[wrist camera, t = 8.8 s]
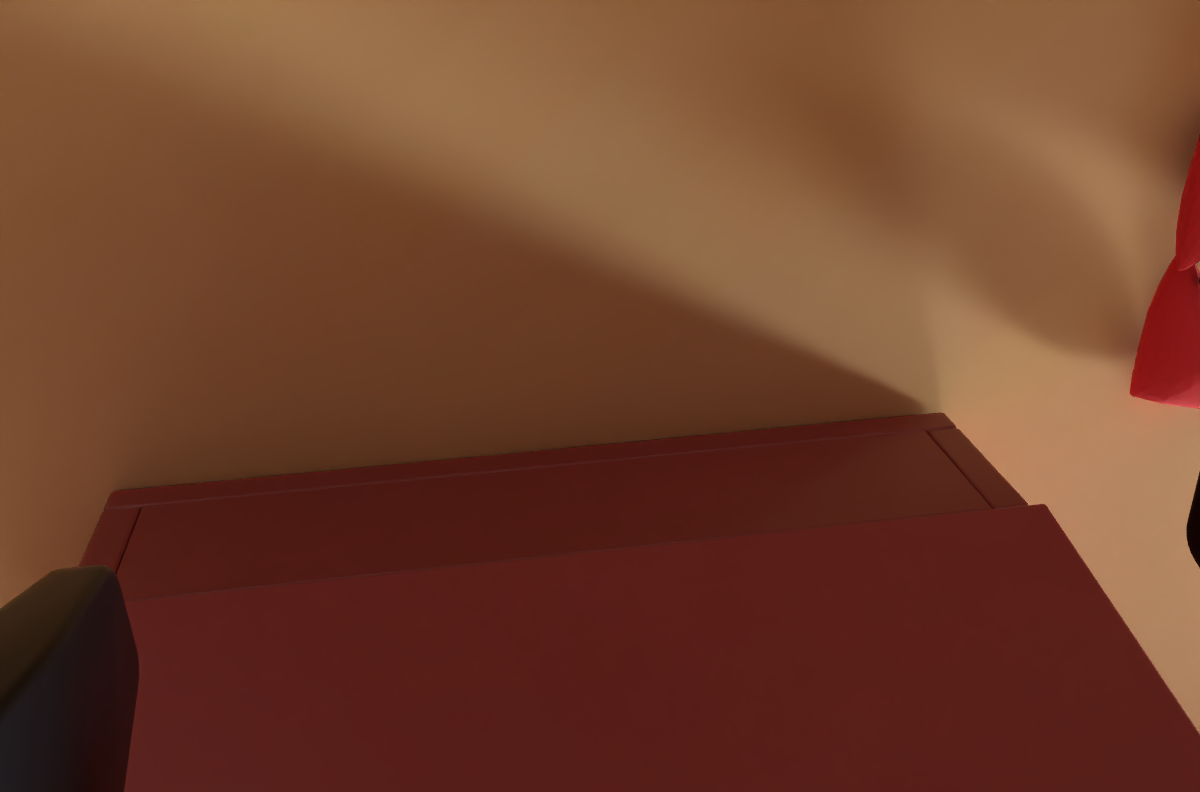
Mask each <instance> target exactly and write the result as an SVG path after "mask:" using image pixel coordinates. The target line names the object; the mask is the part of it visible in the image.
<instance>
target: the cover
mask: <svg viewBox="0 0 1200 792" xmlns="http://www.w3.org/2000/svg"><path fill="white" fill-rule="evenodd" d="M125 606H126V609H127V613H128V617H129V621H130V625H131V628H132V632H133V636H134V640H135V644H136V647H137V652H138V659H139V684H138V692H137V699H136V707H135V714H134V722H133V729H132V737H131V744H130V752H129V759H128V767H127V774H126V781H125V789H124V792H1200V734H1199V732H1198V731H1197V729H1196V728H1195V726H1194V725H1193V723H1192V722H1191V720H1190V719H1189V717H1188V716H1187V714H1186V713H1185V711H1184V710H1183V708H1182V707H1181V705H1180V704H1179V702H1178V701H1177V699H1176V698H1175V696H1174V695H1173V694H1172V692H1171V691H1170V689H1169V688H1168V686H1167V685H1166V683H1165V682H1164V680H1163V679H1162V677H1161V676H1160V674H1159V673H1158V671H1157V670H1156V668H1155V667H1154V665H1153V664H1152V662H1151V661H1150V659H1149V658H1148V656H1147V655H1146V653H1145V652H1144V650H1143V649H1142V647H1141V646H1140V644H1139V643H1138V641H1137V640H1136V638H1135V637H1134V635H1133V634H1132V632H1131V631H1130V629H1129V628H1128V626H1127V625H1126V623H1125V622H1124V621H1123V619H1122V618H1121V616H1120V615H1119V613H1118V612H1117V610H1116V609H1115V607H1114V606H1113V604H1112V603H1111V601H1110V600H1109V598H1108V597H1107V595H1106V594H1105V592H1104V591H1103V589H1102V588H1101V586H1100V585H1099V583H1098V582H1097V580H1096V579H1095V577H1094V576H1093V574H1092V573H1091V571H1090V570H1089V568H1088V567H1087V565H1086V564H1085V562H1084V561H1083V559H1082V558H1081V556H1080V555H1079V553H1078V552H1077V550H1076V549H1075V548H1074V546H1073V545H1072V543H1071V542H1070V540H1069V539H1068V537H1067V536H1066V534H1065V533H1064V531H1063V530H1062V528H1061V527H1060V525H1059V524H1058V522H1057V521H1056V519H1055V518H1054V516H1053V515H1052V513H1051V512H1050V510H1049V509H1048V507H1047V506H1046V505H1045V504H1038V505H1028V506H1019V507H1010V508H1000V509H991V510H981V511H972V512H963V513H953V514H944V515H935V516H925V517H916V518H906V519H897V520H888V521H878V522H869V523H860V524H850V525H841V526H831V527H822V528H813V529H803V530H794V531H785V532H775V533H766V534H756V535H747V536H738V537H728V538H719V539H710V540H700V541H691V542H681V543H672V544H663V545H653V546H644V547H635V548H625V549H616V550H606V551H597V552H588V553H578V554H569V555H560V556H550V557H541V558H531V559H522V560H513V561H503V562H494V563H485V564H475V565H466V566H456V567H447V568H438V569H428V570H419V571H410V572H400V573H391V574H381V575H372V576H363V577H353V578H344V579H335V580H325V581H316V582H306V583H297V584H288V585H278V586H269V587H260V588H250V589H241V590H231V591H222V592H213V593H203V594H194V595H185V596H175V597H166V598H156V599H147V600H138V601H128V602H125Z"/></svg>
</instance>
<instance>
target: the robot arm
mask: <svg viewBox="0 0 1200 792" xmlns="http://www.w3.org/2000/svg"><path fill="white" fill-rule="evenodd" d="M1187 541H1188V546H1189V549H1190V551H1191V554H1192V556H1193V558H1194V559H1195V561H1196V563H1197V564H1198V566H1199V567H1200V472H1199V476H1198V480H1197V484H1196V489H1195V493H1194V497H1193V501H1192V505H1191V509H1190V514H1189V518H1188V522H1187ZM138 684H139V659H138V652H137V647H136V644H135V640H134V636H133V632H132V628H131V625H130V621H129V617H128V613H127V609H126V606H125V602H124V598H123V594H122V590H121V587H120V583H119V580H118V578H117V576H116V574H115V572H114V571H113V570H112V569H111V568H110V567H108V566H106V565H93V566H83V567H74V568H65V569H58V570H55V571H52V572H50V573H49V574H47V575H46V576H44V577H43V578H42V579H40V580H39V581H38V582H36V583H35V584H34V585H32V586H31V587H29V588H28V589H27V590H25V591H24V592H23V593H21V594H20V595H19V596H17V597H16V598H14V599H13V600H12V601H10V602H9V603H8V604H6V605H5V606H4V607H2V608H1V609H0V792H124V789H125V781H126V774H127V767H128V759H129V752H130V744H131V737H132V729H133V722H134V714H135V707H136V699H137V692H138Z"/></svg>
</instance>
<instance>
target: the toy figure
mask: <svg viewBox="0 0 1200 792" xmlns="http://www.w3.org/2000/svg"><path fill="white" fill-rule="evenodd" d="M1199 261H1200V135H1199V138H1198V142H1197V145H1196V148H1195V152H1194V155H1193V158H1192V162H1191V165H1190V169H1189V172H1188V176H1187V180H1186V183H1185V187H1184V190H1183V194H1182V198H1181V204H1180V210H1179V217H1178V223H1177V232H1176V256H1175V257H1174V259H1173V260H1172V262H1171V263H1170V265H1169V267H1168V269H1167V271H1166V273H1165V274H1164V276H1163V278H1162V280H1161V282H1160V284H1159V286H1158V288H1157V290H1156V293H1155V295H1154V297H1153V300H1152V302H1151V305H1150V307H1149V309H1148V312H1147V316H1146V320H1145V324H1144V327H1143V331H1142V335H1141V339H1140V343H1139V347H1138V351H1137V355H1136V359H1135V367H1134V370H1133V374H1132V380H1131V387H1130V394H1131V395H1132V396H1133V397H1138V398H1142V399H1146V400H1150V401H1154V402H1158V403H1162V404H1168V405H1175V406H1183V407H1191V408H1199V409H1200V273H1199V270H1198V268H1197V266H1196V263H1197V262H1199Z"/></svg>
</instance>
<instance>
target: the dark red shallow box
mask: <svg viewBox="0 0 1200 792" xmlns="http://www.w3.org/2000/svg"><path fill="white" fill-rule="evenodd" d="M1019 506H1028V503H1027V502H1026V501H1025V500H1024V499H1023V498H1022V497H1021V495H1020V494H1019V493H1018V492H1017V491H1016V490H1015V489H1014V488H1013V487H1012V486H1011V485H1010V484H1009V483H1008V481H1007V480H1006V479H1005V478H1004V477H1003V476H1002V475H1001V474H1000V473H999V472H998V471H997V470H996V468H995V467H994V466H993V465H992V464H991V463H990V462H989V461H988V460H987V459H986V458H985V457H984V456H983V454H982V453H981V452H980V451H979V450H978V449H977V448H976V447H975V446H974V445H973V444H972V443H971V442H970V440H969V439H968V438H967V437H966V436H965V435H964V434H963V433H962V432H961V431H960V430H959V429H956V425H955V424H954V423H953V422H952V421H951V420H950V419H949V418H948V417H947V416H946V415H945V414H944V413H931V414H920V415H910V416H899V417H889V418H878V419H868V420H857V421H847V422H836V423H825V424H815V425H804V426H794V427H783V428H773V429H762V430H752V431H741V432H731V433H720V434H710V435H699V436H689V437H678V438H667V439H657V440H646V441H636V442H625V443H615V444H604V445H594V446H583V447H573V448H562V449H552V450H541V451H531V452H520V453H509V454H499V455H488V456H478V457H467V458H457V459H446V460H436V461H425V462H415V463H404V464H394V465H383V466H373V467H362V468H352V469H341V470H330V471H320V472H309V473H299V474H288V475H278V476H267V477H257V478H246V479H236V480H225V481H215V482H204V483H194V484H183V485H172V486H162V487H151V488H141V489H130V490H120V491H114V492H112V493H111V494H110V496H109V498H108V501H107V503H106V505H105V507H104V512H103V513H102V514H101V516H100V519H99V521H98V523H97V526H96V528H95V530H94V532H93V535H92V537H91V539H90V541H89V544H88V546H87V548H86V550H85V553H84V555H83V557H82V559H81V562H80V564H79V566H78V567H83V566H93V565H106V566H108V567H110V568H111V569H112V570H113V571H114V572H115V574H116V576H117V578H118V580H119V583H120V587H121V590H122V594H123V598H124V602H128V601H138V600H147V599H156V598H166V597H175V596H185V595H194V594H203V593H213V592H222V591H231V590H241V589H250V588H260V587H269V586H278V585H288V584H297V583H306V582H316V581H325V580H335V579H344V578H353V577H363V576H372V575H381V574H391V573H400V572H410V571H419V570H428V569H438V568H447V567H456V566H466V565H475V564H485V563H494V562H503V561H513V560H522V559H531V558H541V557H550V556H560V555H569V554H578V553H588V552H597V551H606V550H616V549H625V548H635V547H644V546H653V545H663V544H672V543H681V542H691V541H700V540H710V539H719V538H728V537H738V536H747V535H756V534H766V533H775V532H785V531H794V530H803V529H813V528H822V527H831V526H841V525H850V524H860V523H869V522H878V521H888V520H897V519H906V518H916V517H925V516H935V515H944V514H953V513H963V512H972V511H981V510H991V509H1000V508H1010V507H1019Z"/></svg>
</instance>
